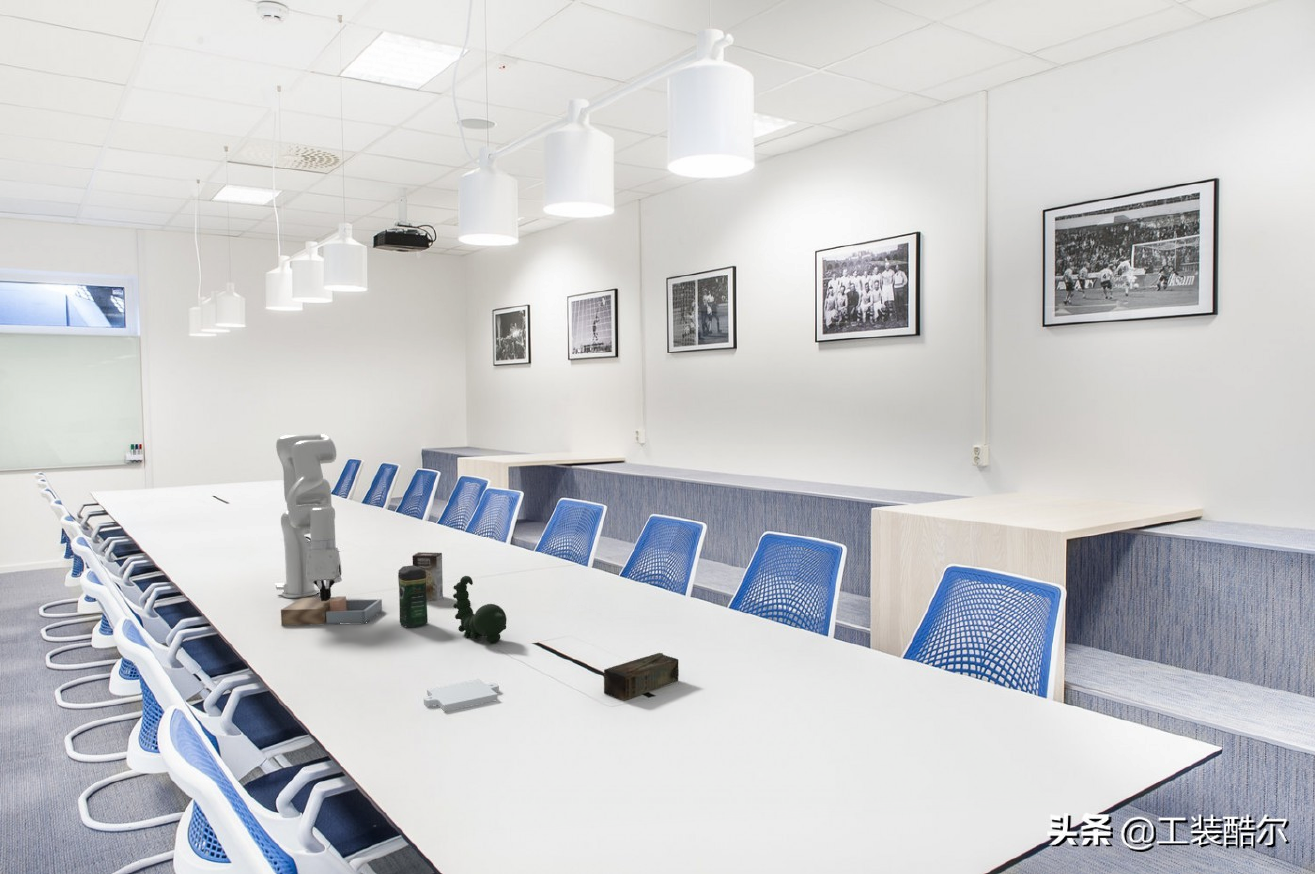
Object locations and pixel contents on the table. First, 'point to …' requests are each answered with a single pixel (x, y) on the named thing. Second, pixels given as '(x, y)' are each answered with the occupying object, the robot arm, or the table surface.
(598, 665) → the table surface
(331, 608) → the block
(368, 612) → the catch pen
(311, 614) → the platform
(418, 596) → the coffee jar
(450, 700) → the mounting plate
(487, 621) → the toy figurine
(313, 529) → the robot arm
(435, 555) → the coffee box
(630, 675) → the dark brown boxy piece
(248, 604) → the table surface
